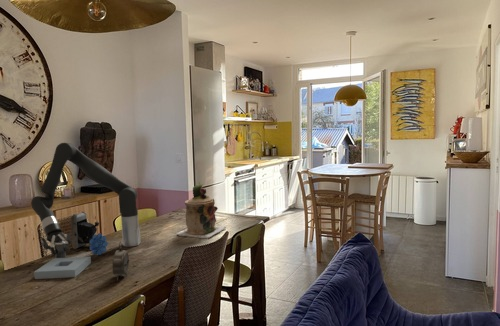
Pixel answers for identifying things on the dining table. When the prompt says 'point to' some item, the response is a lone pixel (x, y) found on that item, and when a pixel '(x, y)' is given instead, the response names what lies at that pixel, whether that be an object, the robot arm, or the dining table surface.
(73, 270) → the holder
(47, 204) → the robot arm
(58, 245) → the metal cylinder
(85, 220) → the vintage camera
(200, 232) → the cookie jar
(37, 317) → the dining table surface
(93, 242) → the grapes
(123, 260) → the alarm clock
